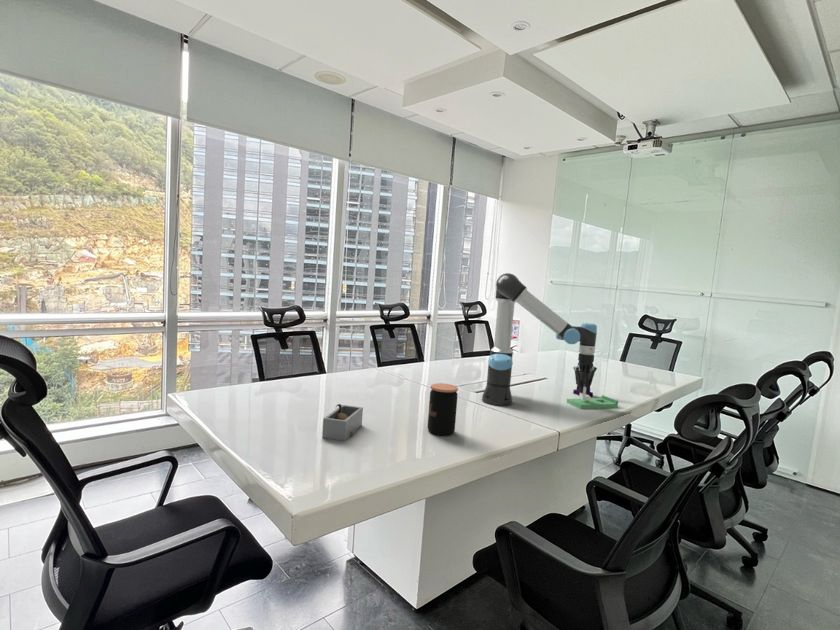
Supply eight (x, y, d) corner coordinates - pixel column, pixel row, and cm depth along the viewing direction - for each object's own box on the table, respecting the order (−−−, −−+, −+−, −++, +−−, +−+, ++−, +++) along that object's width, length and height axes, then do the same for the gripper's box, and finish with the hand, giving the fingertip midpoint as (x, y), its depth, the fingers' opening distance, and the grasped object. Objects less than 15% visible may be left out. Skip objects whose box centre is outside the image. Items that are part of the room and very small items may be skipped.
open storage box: (322, 437, 160) (323, 418, 160) (341, 422, 178) (342, 404, 178) (344, 440, 158) (346, 421, 158) (361, 424, 177) (362, 407, 176)
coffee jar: (427, 426, 181) (430, 382, 179) (453, 428, 180) (457, 384, 179) (427, 435, 170) (430, 388, 169) (455, 437, 170) (458, 391, 168)
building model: (572, 393, 257) (578, 341, 254) (580, 392, 260) (585, 341, 257) (585, 397, 249) (590, 344, 247) (592, 396, 252) (598, 343, 250)
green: (580, 408, 224) (581, 401, 224) (566, 402, 235) (567, 396, 235) (617, 407, 232) (618, 401, 232) (602, 401, 242) (603, 395, 242)
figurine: (328, 423, 174) (330, 401, 173) (340, 422, 176) (341, 400, 175) (341, 436, 162) (343, 412, 161) (353, 435, 164) (355, 411, 163)
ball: (583, 401, 231) (584, 395, 230) (582, 400, 234) (583, 393, 234) (590, 402, 230) (591, 396, 230) (589, 401, 233) (590, 394, 233)
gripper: (580, 354, 223) (576, 401, 225) (602, 355, 227) (597, 400, 229) (571, 352, 230) (566, 397, 232) (592, 352, 235) (587, 396, 236)
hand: (582, 398), depth 231 cm, fingers closed
